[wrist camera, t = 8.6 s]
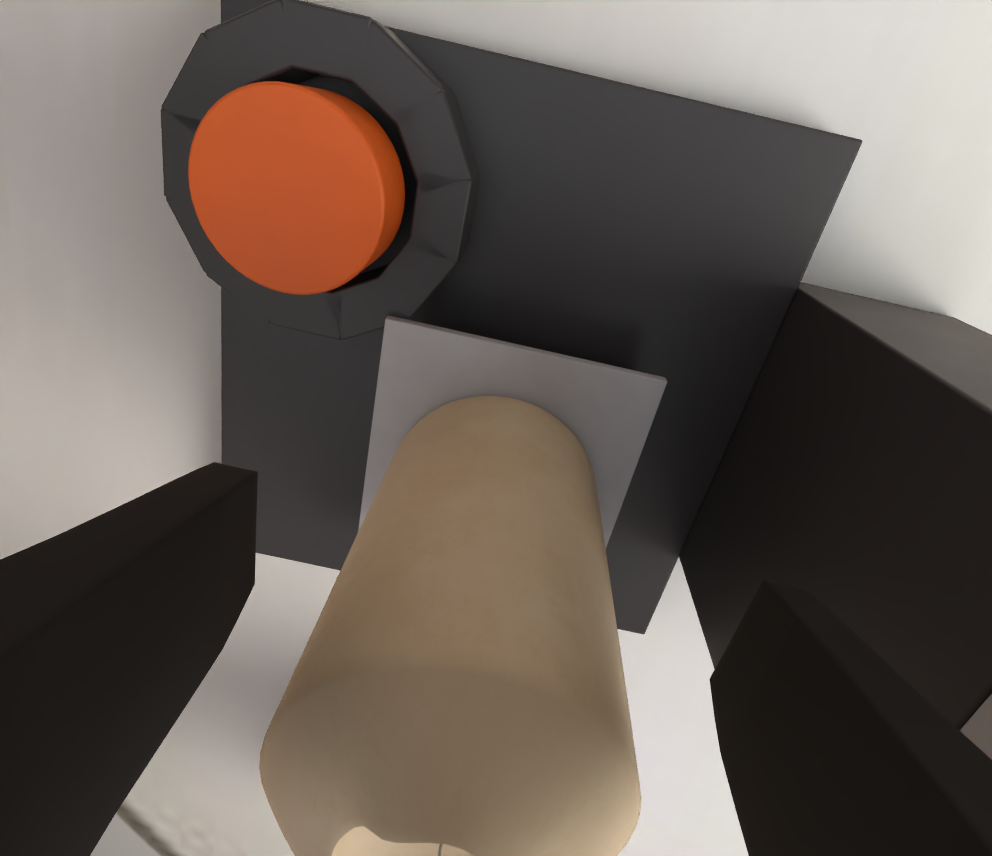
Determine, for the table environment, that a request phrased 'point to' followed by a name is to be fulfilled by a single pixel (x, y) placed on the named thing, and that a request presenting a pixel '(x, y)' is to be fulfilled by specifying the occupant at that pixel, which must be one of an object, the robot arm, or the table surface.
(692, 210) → the grey base plate
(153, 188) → the table surface
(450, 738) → the candle
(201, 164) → the button
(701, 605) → the tower
